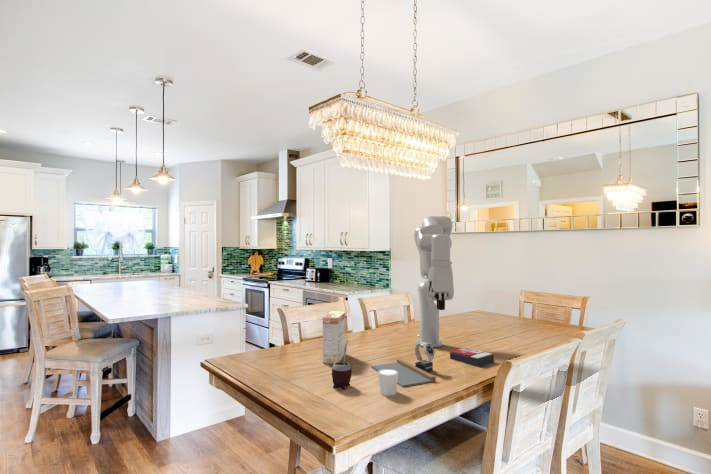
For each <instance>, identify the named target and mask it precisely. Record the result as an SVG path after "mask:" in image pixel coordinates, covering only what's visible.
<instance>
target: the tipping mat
mask: <svg viewBox="0 0 711 474" xmlns="http://www.w3.org/2000/svg"><path fill="white" fill-rule="evenodd" d="M370 367H371V369H373V370H374V371H376V372H378V371H380V370H382V369H393V370H396V371H398V382H397V386H400V387H402V388H406V387H407V388H408V387H413V386H418V385H423V384H425V385H426V384H429V383H435V382H436V380H437V379H436V376H435V375H433V374H432V373H429V372H426V371H424V370H422V369H420V368H418V367H416V366H415V365H414V364H412V363H410V362H408V361H406V360H405V359H402V358H399V359H398V358H397V359H396V362H391V363H384V364H378V365H377V364H376V365H371V366H370Z"/></svg>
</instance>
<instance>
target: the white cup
mask: <svg viewBox="0 0 711 474" xmlns="http://www.w3.org/2000/svg"><path fill="white" fill-rule="evenodd" d="M377 373H378V374H377V375H378V383H379V387H378V388H379V394H381V395H382V396H386V397H391V396H393V397H394V396H395V395H397V391H398V384H397V382H398V371H396V370H393V369H382V370H380V371H377Z"/></svg>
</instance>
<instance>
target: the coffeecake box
mask: <svg viewBox="0 0 711 474" xmlns="http://www.w3.org/2000/svg"><path fill="white" fill-rule="evenodd" d="M345 344H346V311H343V310H342V311H341V310H340V311H339V310H331V311H330V312H328V313H327V314H325V315H324V316H322V363H323V364H333V365H334V364H335V363H337V362H341V360H342V359H344V348H345Z"/></svg>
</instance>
